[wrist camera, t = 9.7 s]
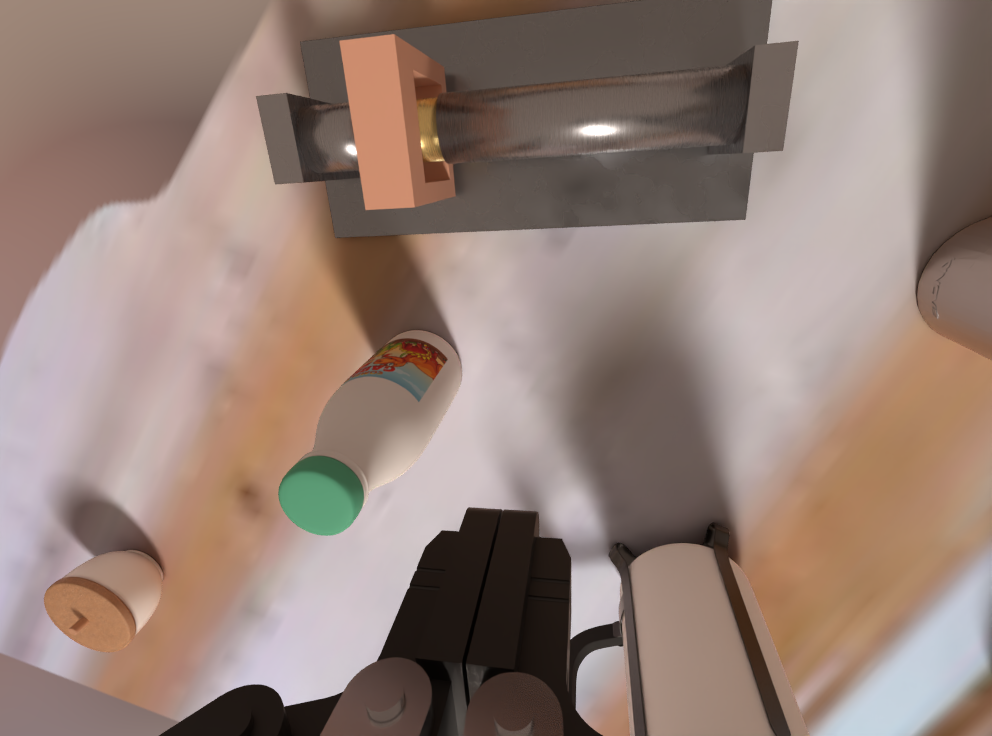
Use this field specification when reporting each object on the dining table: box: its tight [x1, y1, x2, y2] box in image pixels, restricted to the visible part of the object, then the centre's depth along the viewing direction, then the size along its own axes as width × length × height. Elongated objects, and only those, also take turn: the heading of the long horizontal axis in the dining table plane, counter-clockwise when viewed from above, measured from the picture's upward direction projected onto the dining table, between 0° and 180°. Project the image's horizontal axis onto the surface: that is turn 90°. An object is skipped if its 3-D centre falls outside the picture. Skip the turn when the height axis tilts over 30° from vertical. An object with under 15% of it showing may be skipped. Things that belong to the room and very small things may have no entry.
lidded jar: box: [44, 550, 163, 652], centre depth 59 cm, size 11×11×9 cm
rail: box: [256, 0, 799, 238], centre depth 32 cm, size 32×14×9 cm, turn 94°
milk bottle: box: [278, 330, 462, 536], centre depth 36 cm, size 8×8×20 cm
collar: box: [339, 34, 456, 210], centre depth 31 cm, size 3×8×10 cm, turn 4°
